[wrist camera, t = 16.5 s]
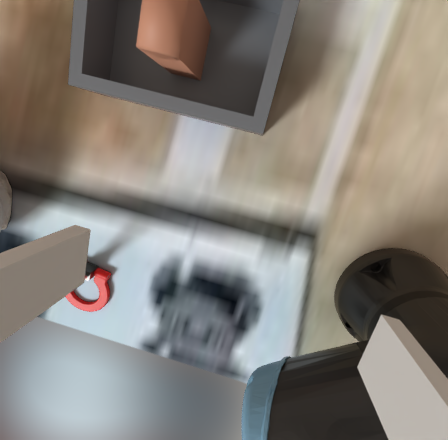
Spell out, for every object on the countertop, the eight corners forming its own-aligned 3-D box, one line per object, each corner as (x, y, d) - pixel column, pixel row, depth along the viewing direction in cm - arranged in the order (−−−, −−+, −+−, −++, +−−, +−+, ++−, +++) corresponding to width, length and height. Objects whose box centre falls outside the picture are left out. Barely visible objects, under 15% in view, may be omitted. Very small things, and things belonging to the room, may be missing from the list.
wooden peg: (211, 27, 34) (185, -32, 22) (200, 80, 36) (172, 51, 24) (179, 20, 34) (138, -42, 23) (170, 73, 36) (128, 40, 24)
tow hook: (105, 314, 49) (117, 272, 46) (51, 375, 37) (63, 324, 34) (62, 295, 49) (71, 252, 46) (-6, 350, 37) (1, 296, 34)
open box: (297, 6, 33) (307, -28, 26) (262, 135, 37) (263, 134, 31) (114, -35, 34) (79, -78, 28) (101, 94, 39) (68, 84, 32)
